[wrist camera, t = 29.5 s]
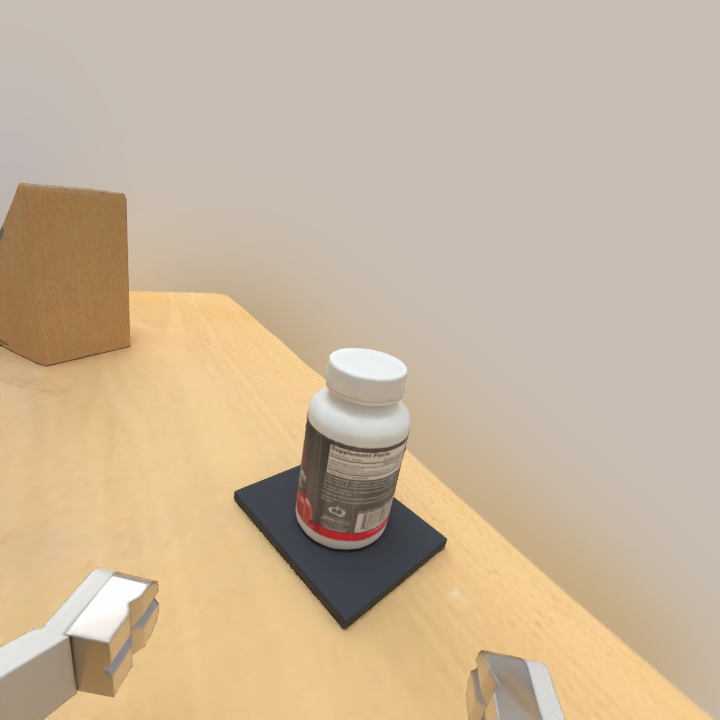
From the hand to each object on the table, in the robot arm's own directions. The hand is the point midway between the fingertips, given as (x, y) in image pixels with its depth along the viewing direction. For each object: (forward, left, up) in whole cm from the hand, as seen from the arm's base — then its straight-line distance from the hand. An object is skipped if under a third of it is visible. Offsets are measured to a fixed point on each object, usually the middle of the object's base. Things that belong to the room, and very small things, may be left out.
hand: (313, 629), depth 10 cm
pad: (-8, +9, -7) cm, 14 cm away
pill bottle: (-7, +9, -7) cm, 14 cm away
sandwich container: (-45, +1, -8) cm, 45 cm away
